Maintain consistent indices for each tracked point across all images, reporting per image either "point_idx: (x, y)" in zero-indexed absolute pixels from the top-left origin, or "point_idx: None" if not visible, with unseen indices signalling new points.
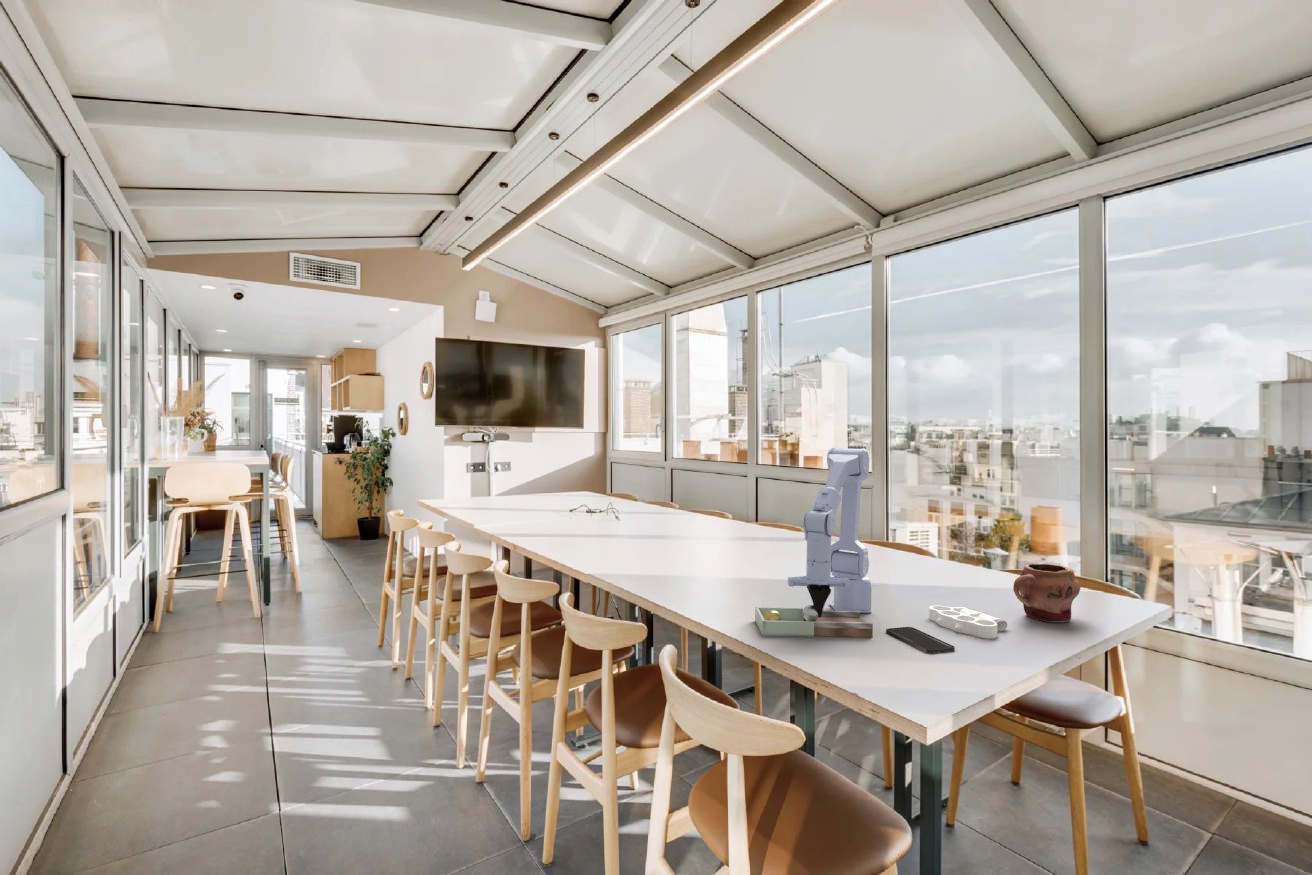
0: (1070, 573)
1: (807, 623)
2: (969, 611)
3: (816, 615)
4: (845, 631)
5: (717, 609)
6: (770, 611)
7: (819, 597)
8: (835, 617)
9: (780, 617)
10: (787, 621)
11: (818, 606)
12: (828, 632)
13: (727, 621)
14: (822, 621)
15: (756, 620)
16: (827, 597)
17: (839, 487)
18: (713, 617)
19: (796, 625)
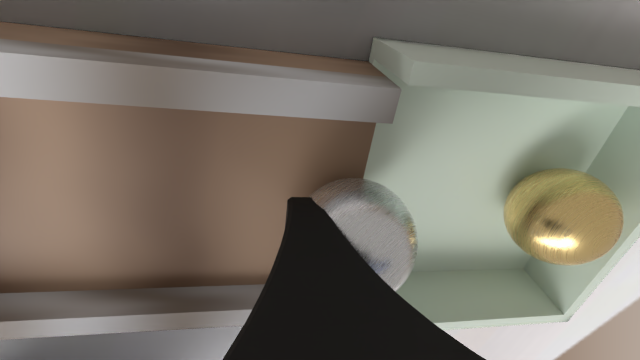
0: None
1: (463, 62)
2: None
3: (336, 193)
4: (115, 42)
5: (562, 346)
6: (616, 236)
7: (361, 329)
8: (151, 273)
9: (541, 206)
10: (608, 89)
11: (334, 250)
12: (263, 56)
13: (626, 253)
14: (309, 114)
15: None
16: (242, 337)
17: None
18: (636, 285)
19: (530, 68)
